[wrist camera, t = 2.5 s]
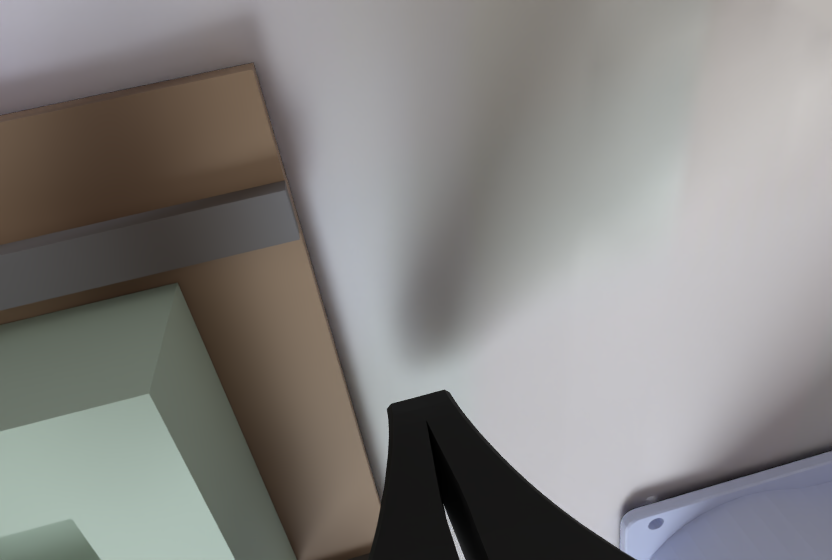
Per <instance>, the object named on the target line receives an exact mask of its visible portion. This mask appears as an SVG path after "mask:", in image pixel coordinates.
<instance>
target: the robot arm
mask: <svg viewBox="0 0 832 560" xmlns="http://www.w3.org/2000/svg"><path fill="white" fill-rule="evenodd" d="M387 413H388V420H389V446H388V459H387V468H386V477H385V485H384V491H383V496H382V502H381V507H380V513H379V518H378V522H377V527H376V531H375V535H374V539H373V543H372V547H371V551H370V554H369V558H368V560H459V557H458V554H457V551H456V548H455V545H454V541H453V538H452V535H451V532H450V529H449V526H448V523H447V519H446V515H445V510H444V506H445V509H446V511H447V514H448V516H449V519H450V521H451V524H452V526H453V529H454V532H455V534H456V537H457V539H458V542H459V544H460V547H461V549H462V552H463V554H464V557H465V559H466V560H832V451H829V452H826V453H823V454H819V455H816V456H812V457H809V458H806V459H802V460H799V461H795V462H792V463H789V464H785V465H782V466H778V467H775V468H772V469H768V470H765V471H761V472H758V473H755V474H751V475H748V476H744V477H741V478H737V479H734V480H731V481H727V482H724V483H720V484H717V485H714V486H710V487H707V488H703V489H700V490H697V491H693V492H690V493H686V494H683V495H680V496H676V497H673V498H669V499H666V500H663V501H659V502H656V503H652V504H649V505H646V506H642V507H639V508H635V509H633V510H631V511H629V512H628V513H626V514H625V515H624V517H623V518H622V520H621V525H620V549H618V548H617V547H615V546H614V545H612V544H611V543H609V542H608V541H606V540H605V539H603V538H602V537H600V536H599V535H597V534H596V533H594V532H593V531H591V530H590V529H588V528H587V527H585V526H584V525H582V524H581V523H579V522H578V521H577V520H575V519H574V518H573V517H571V516H570V515H569V514H567V513H566V512H565V511H563V510H562V509H561V508H559V507H558V506H557V505H555V504H554V503H553V502H552V501H551V500H549V499H548V498H547V497H546V496H544V495H543V494H542V493H541V492H540V491H538V490H537V489H536V488H535V487H534V486H533V485H532V484H530V483H529V482H528V481H527V480H526V479H525V478H524V477H523V476H522V475H521V474H519V473H518V472H517V471H516V470H515V469H514V468H513V467H512V466H511V465H510V464H509V463H508V462H507V461H506V460H505V459H504V458H503V457H502V456H501V455H500V454H499V453H498V452H497V451H496V450H495V449H494V448H493V447H492V445H491V444H490V443H489V442H488V441H487V440H486V439H485V438H484V437H483V436H482V435H481V433H480V432H479V431H478V430H477V429H476V428H475V426H474V425H473V424H472V423H471V422H470V420H469V419H468V418H467V417H466V415H465V414H464V413H463V411H462V410H461V409H460V407H459V406H458V405H457V403H456V402H455V400H454V399H453V397H452V395H451V394H450V392H448V391H446V390H441V391H438V392H434V393H430V394H426V395H423V396H419V397H415V398H411V399H408V400H404V401H400V402H396V403H393V404H391V405H390V406H389V407H388V408H387Z"/></svg>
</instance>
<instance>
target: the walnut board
mask: <svg viewBox="0 0 832 560" xmlns="http://www.w3.org/2000/svg"><path fill="white" fill-rule="evenodd" d="M173 283H178V285H179V287H180V289H181V292H182V294H183V296H184V299H185V301H186V303H187V306H188V308H189V310H190V313H191V315H192V317H193V320H194V322H195V324H196V327H197V329H198V331H199V333H200V336H201V338H202V340H203V343H204V345H205V347H206V350H207V352H208V354H209V357H210V359H211V361H212V364H213V366H214V368H215V371H216V373H217V375H218V378H219V380H220V382H221V385H222V387H223V389H224V392H225V394H226V396H227V398H228V401H229V403H230V405H231V408H232V410H233V412H234V415H235V417H236V419H237V422H238V424H239V426H240V429H241V431H242V433H243V436H244V438H245V440H246V443H247V445H248V447H249V450H250V452H251V454H252V457H253V459H254V461H255V463H256V466H257V468H258V470H259V473H260V475H261V477H262V480H263V482H264V484H265V487H266V489H267V491H268V494H269V496H270V498H271V501H272V503H273V505H274V508H275V510H276V512H277V515H278V517H279V519H280V522H281V524H282V526H283V528H284V531H285V533H286V535H287V538H288V540H289V542H290V545H291V547H292V549H293V552H294V554H295V556H296V559H297V560H368V558H369V554H370V551H371V547H372V543H373V539H374V535H375V531H376V527H377V522H378V518H379V513H380V507H381V502H380V499H379V495H378V492H377V488H376V485H375V481H374V478H373V474H372V471H371V468H370V464H369V461H368V457H367V454H366V450H365V447H364V443H363V440H362V436H361V433H360V429H359V426H358V423H357V419H356V416H355V412H354V409H353V405H352V402H351V398H350V395H349V391H348V388H347V385H346V381H345V378H344V374H343V371H342V367H341V364H340V360H339V357H338V353H337V350H336V347H335V343H334V340H333V336H332V333H331V329H330V326H329V322H328V319H327V315H326V312H325V308H324V305H323V302H322V298H321V295H320V291H319V288H318V284H317V281H316V277H315V274H314V270H313V267H312V264H311V260H310V257H309V253H308V250H307V246H306V243H305V239H304V236H303V232H302V229H301V226H300V222H299V219H298V215H297V212H296V208H295V205H294V201H293V198H292V194H291V191H290V187H289V184H288V181H287V177H286V174H285V170H284V167H283V163H282V160H281V156H280V153H279V149H278V146H277V143H276V139H275V136H274V132H273V129H272V125H271V122H270V118H269V115H268V111H267V108H266V104H265V101H264V98H263V94H262V91H261V87H260V84H259V80H258V77H257V73H256V70H255V66H254V63H249V64H245V65H240V66H235V67H230V68H225V69H221V70H216V71H211V72H206V73H201V74H197V75H192V76H187V77H182V78H177V79H173V80H168V81H163V82H158V83H153V84H149V85H144V86H139V87H134V88H130V89H125V90H120V91H115V92H110V93H106V94H101V95H96V96H91V97H86V98H82V99H77V100H72V101H67V102H62V103H58V104H53V105H48V106H43V107H38V108H34V109H29V110H24V111H19V112H14V113H10V114H5V115H0V325H2V324H6V323H11V322H15V321H19V320H23V319H27V318H31V317H36V316H40V315H44V314H48V313H52V312H57V311H61V310H65V309H69V308H73V307H77V306H82V305H86V304H90V303H94V302H98V301H102V300H107V299H111V298H115V297H119V296H123V295H128V294H132V293H136V292H140V291H144V290H148V289H153V288H157V287H161V286H165V285H169V284H173Z"/></svg>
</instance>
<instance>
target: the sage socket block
mask: <svg viewBox="0 0 832 560" xmlns="http://www.w3.org/2000/svg"><path fill="white" fill-rule="evenodd" d="M0 560H297V559H296V556H295V554H294V552H293V549H292V547H291V545H290V542H289V540H288V538H287V535H286V533H285V531H284V528H283V526H282V524H281V522H280V519H279V517H278V515H277V512H276V510H275V508H274V505H273V503H272V501H271V498H270V496H269V494H268V491H267V489H266V487H265V484H264V482H263V480H262V477H261V475H260V473H259V470H258V468H257V466H256V463H255V461H254V459H253V457H252V454H251V452H250V450H249V447H248V445H247V443H246V440H245V438H244V436H243V433H242V431H241V429H240V426H239V424H238V422H237V419H236V417H235V415H234V412H233V410H232V408H231V405H230V403H229V401H228V398H227V396H226V394H225V392H224V389H223V387H222V385H221V382H220V380H219V378H218V375H217V373H216V371H215V368H214V366H213V364H212V361H211V359H210V357H209V354H208V352H207V350H206V347H205V345H204V343H203V340H202V338H201V336H200V333H199V331H198V329H197V327H196V324H195V322H194V320H193V317H192V315H191V313H190V310H189V308H188V306H187V303H186V301H185V299H184V296H183V294H182V292H181V289H180V287H179V285H178V283H173V284H169V285H165V286H161V287H157V288H153V289H148V290H144V291H140V292H136V293H132V294H128V295H123V296H119V297H115V298H111V299H107V300H102V301H98V302H94V303H90V304H86V305H82V306H77V307H73V308H69V309H65V310H61V311H57V312H52V313H48V314H44V315H40V316H36V317H31V318H27V319H23V320H19V321H15V322H11V323H6V324H2V325H0Z"/></svg>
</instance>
